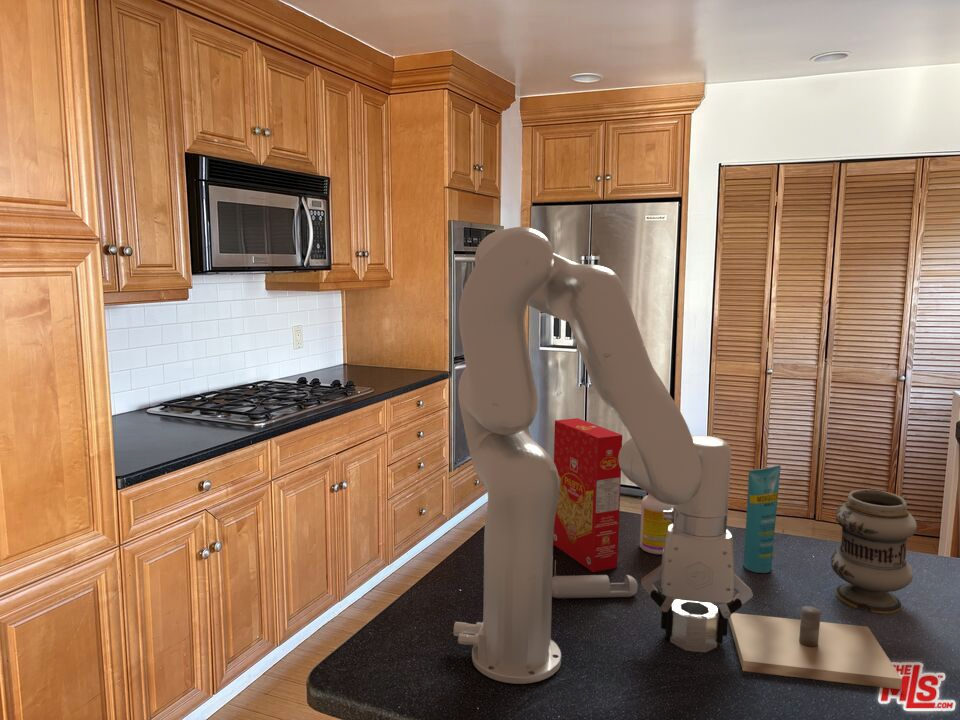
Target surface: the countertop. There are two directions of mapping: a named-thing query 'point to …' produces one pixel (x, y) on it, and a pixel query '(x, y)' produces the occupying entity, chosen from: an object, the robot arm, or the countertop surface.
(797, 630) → the base
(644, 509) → the supplement bottle
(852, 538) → the apothecary jar
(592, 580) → the torpedo
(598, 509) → the food packaging
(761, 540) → the tube
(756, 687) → the countertop surface
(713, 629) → the steel hub
